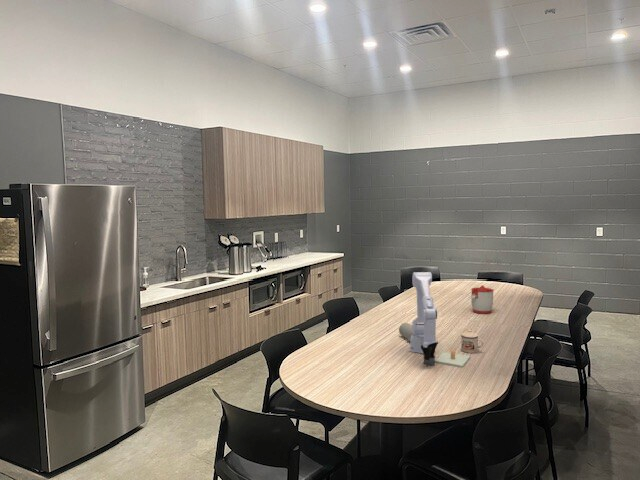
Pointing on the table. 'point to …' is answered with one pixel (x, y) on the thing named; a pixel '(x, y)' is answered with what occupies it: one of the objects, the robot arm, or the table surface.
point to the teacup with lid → (470, 342)
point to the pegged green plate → (452, 359)
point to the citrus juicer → (482, 300)
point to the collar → (430, 361)
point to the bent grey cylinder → (406, 330)
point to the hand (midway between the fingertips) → (429, 357)
